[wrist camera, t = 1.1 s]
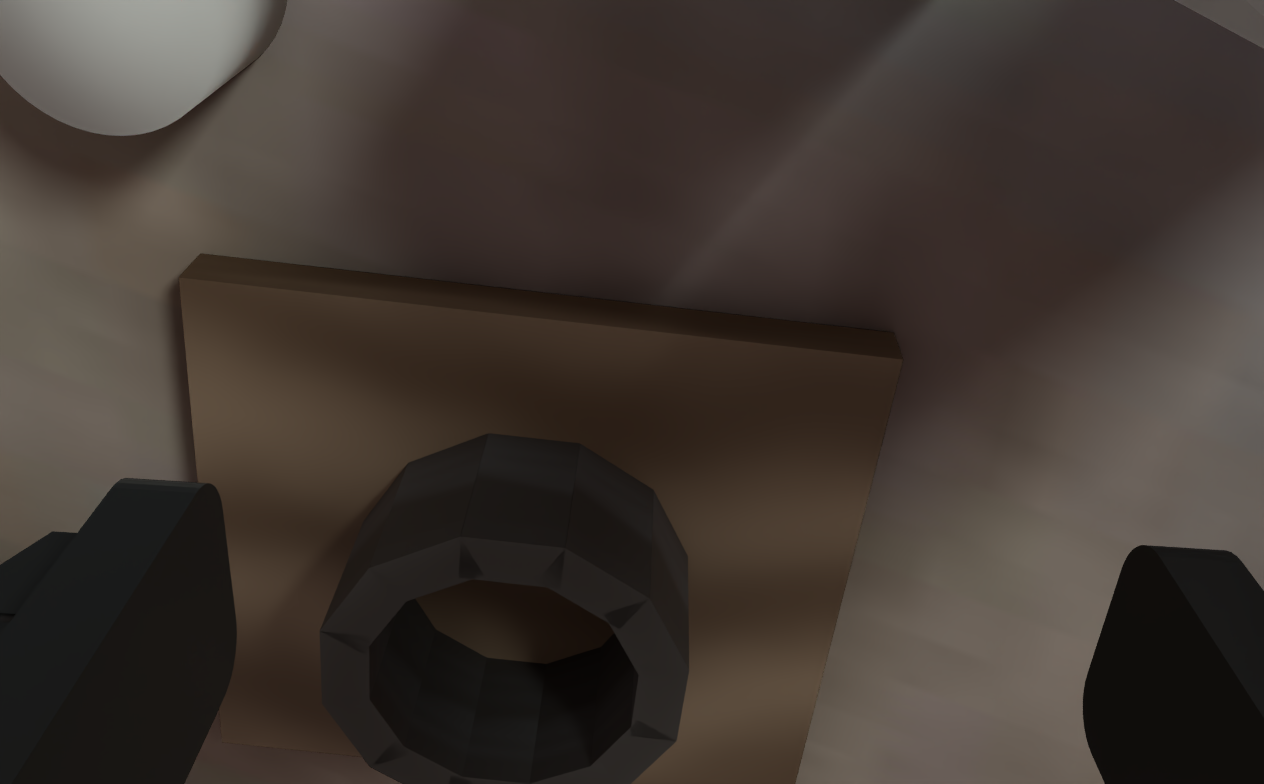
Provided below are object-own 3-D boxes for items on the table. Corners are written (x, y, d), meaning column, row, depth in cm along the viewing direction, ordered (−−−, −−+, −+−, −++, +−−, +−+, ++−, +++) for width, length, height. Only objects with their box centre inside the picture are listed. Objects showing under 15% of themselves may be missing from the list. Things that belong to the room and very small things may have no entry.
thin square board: (200, 253, 30) (99, 364, 25) (893, 332, 30) (938, 457, 25) (237, 707, 38) (167, 863, 32) (786, 765, 38) (803, 928, 33)
